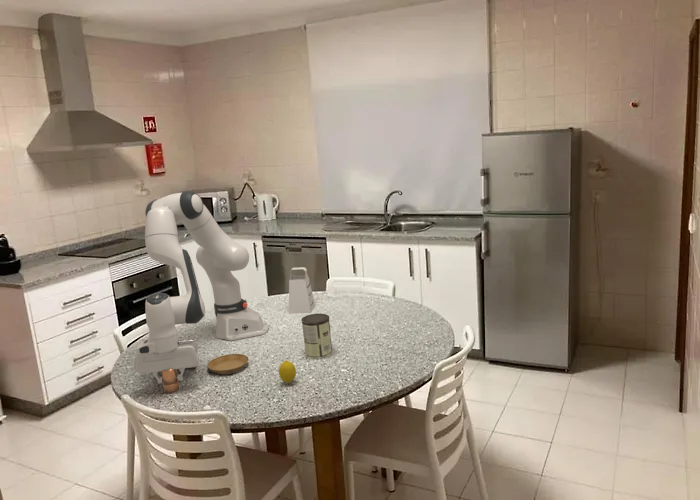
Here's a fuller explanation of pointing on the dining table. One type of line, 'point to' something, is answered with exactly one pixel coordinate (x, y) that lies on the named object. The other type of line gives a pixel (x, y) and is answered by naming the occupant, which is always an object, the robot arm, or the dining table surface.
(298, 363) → the dining table surface
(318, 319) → the coffee can
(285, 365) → the lemon
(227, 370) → the plant saucer
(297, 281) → the grater
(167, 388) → the cylinder
